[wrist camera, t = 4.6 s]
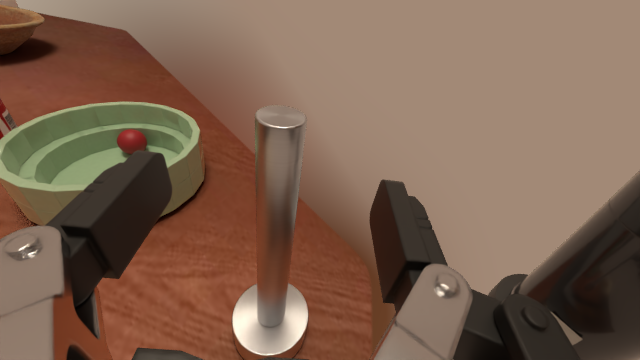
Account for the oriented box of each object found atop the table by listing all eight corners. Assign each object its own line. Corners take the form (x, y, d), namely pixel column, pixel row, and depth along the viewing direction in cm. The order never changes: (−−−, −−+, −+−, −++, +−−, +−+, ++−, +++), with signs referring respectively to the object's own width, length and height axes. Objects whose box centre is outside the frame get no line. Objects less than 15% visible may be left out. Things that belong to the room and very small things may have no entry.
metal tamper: (298, 290, 25) (331, 90, 13) (312, 359, 21) (375, 153, 9) (233, 300, 23) (208, 85, 12) (233, 377, 19) (195, 157, 8)
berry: (152, 147, 38) (146, 125, 36) (146, 158, 35) (140, 135, 33) (125, 148, 37) (118, 125, 35) (117, 159, 34) (109, 135, 33)
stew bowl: (209, 141, 42) (204, 103, 38) (199, 229, 29) (190, 184, 25) (69, 142, 37) (48, 99, 33) (-20, 248, 24) (-72, 197, 20)
